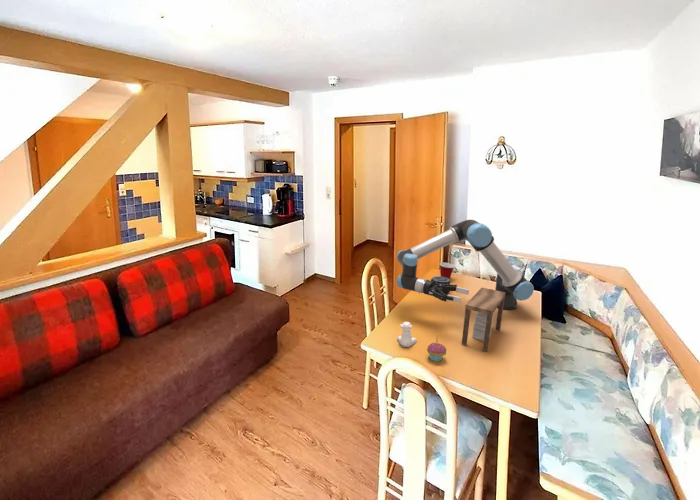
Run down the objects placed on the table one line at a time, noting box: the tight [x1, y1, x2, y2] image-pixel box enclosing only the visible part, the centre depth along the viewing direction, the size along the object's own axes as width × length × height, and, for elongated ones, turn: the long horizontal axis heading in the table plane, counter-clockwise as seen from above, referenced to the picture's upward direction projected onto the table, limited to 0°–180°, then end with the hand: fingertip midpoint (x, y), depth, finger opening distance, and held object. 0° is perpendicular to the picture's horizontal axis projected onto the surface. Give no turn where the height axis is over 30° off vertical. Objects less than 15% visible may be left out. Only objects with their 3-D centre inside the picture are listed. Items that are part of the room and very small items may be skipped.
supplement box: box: [472, 311, 494, 342], centre depth 190 cm, size 7×7×13 cm
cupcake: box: [426, 333, 447, 362], centre depth 170 cm, size 9×8×12 cm
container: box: [430, 275, 452, 295], centre depth 247 cm, size 13×13×10 cm
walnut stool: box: [461, 287, 505, 353], centre depth 189 cm, size 12×28×21 cm, turn 147°
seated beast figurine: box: [396, 321, 418, 348], centre depth 182 cm, size 10×9×12 cm
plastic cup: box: [439, 262, 456, 280], centre depth 271 cm, size 11×11×12 cm
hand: (464, 296), depth 192 cm, fingers open, 13 cm apart
